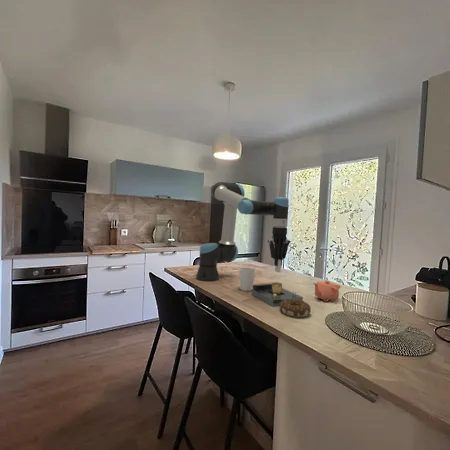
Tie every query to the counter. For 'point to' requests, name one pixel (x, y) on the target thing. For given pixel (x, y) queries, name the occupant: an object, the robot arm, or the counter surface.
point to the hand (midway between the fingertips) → (277, 271)
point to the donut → (295, 308)
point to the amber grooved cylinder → (276, 288)
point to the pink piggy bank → (327, 291)
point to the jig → (273, 299)
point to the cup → (246, 278)
